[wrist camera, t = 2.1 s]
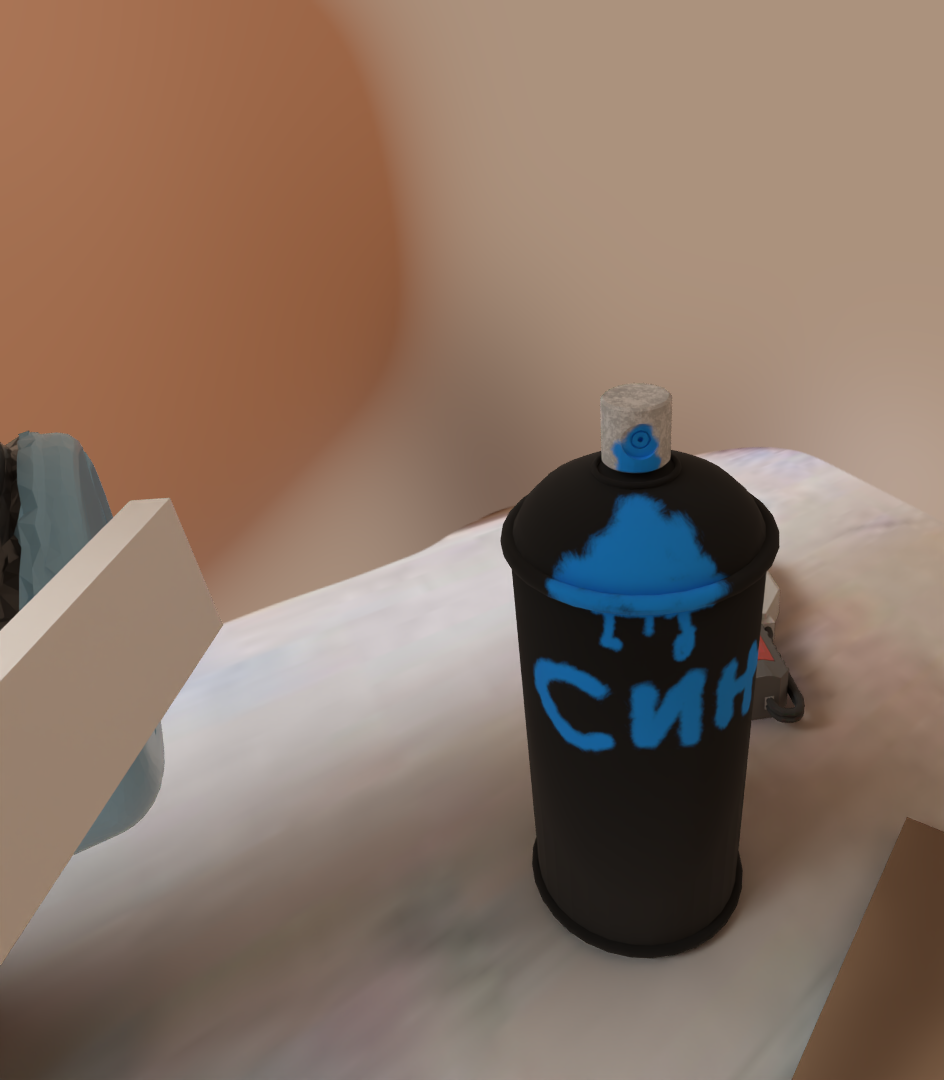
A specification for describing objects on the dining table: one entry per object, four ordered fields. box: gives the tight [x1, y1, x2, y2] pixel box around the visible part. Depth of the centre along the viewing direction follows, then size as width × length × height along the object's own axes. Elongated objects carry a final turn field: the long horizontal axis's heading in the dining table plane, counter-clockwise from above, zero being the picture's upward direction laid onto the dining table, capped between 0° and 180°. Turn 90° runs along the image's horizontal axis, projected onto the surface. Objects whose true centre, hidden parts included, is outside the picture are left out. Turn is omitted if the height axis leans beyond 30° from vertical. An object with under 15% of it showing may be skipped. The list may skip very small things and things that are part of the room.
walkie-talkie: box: [752, 571, 805, 723], centre depth 45 cm, size 9×4×20 cm
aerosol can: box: [500, 383, 779, 958], centre depth 28 cm, size 8×8×20 cm
